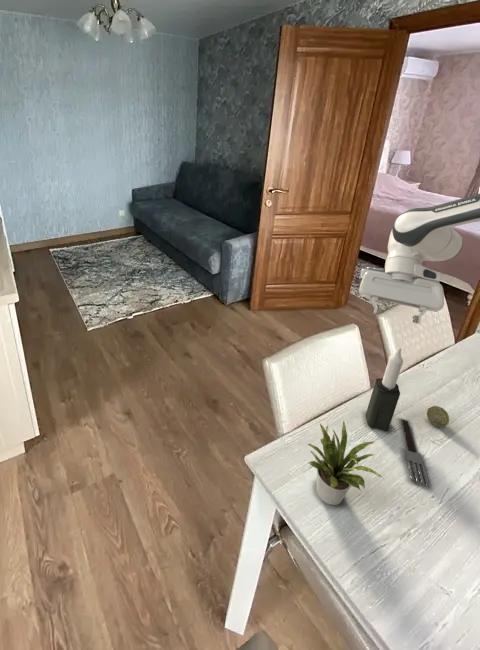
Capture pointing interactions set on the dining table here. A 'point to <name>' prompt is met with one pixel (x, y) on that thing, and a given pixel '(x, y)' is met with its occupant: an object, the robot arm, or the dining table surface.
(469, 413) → the dining table surface
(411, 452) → the fork
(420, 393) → the dining table surface
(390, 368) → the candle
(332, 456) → the house plant
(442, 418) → the lime
